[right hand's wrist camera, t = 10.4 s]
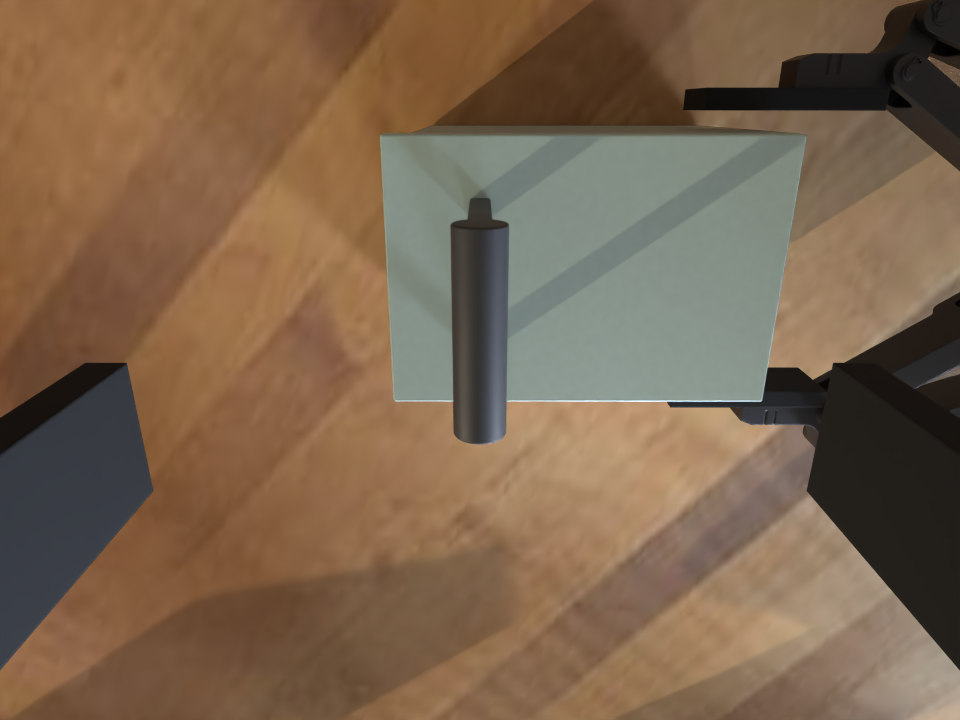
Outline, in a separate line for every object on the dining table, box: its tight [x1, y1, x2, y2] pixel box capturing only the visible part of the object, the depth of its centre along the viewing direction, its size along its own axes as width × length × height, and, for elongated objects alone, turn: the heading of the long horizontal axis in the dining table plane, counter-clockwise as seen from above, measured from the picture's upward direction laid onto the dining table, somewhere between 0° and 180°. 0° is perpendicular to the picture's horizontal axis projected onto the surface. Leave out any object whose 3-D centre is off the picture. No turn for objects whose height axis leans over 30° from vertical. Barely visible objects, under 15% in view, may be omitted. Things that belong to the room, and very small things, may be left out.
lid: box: [380, 133, 807, 444], centre depth 20 cm, size 14×10×8 cm
